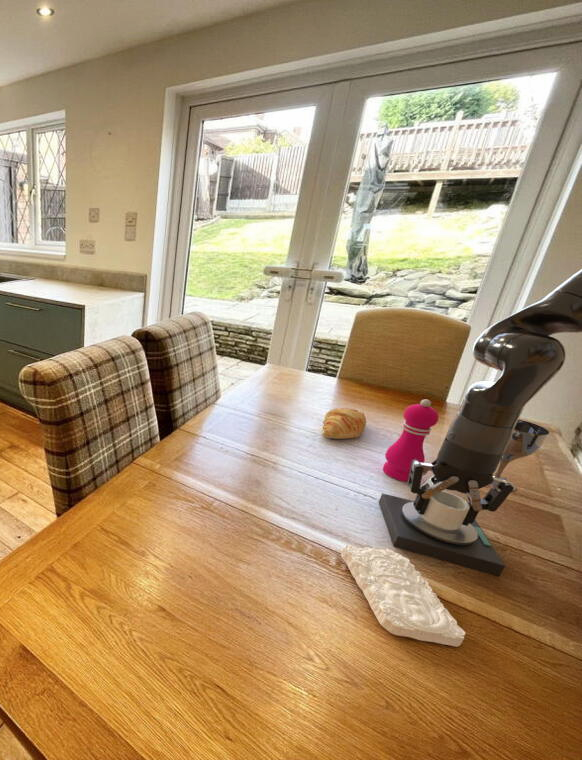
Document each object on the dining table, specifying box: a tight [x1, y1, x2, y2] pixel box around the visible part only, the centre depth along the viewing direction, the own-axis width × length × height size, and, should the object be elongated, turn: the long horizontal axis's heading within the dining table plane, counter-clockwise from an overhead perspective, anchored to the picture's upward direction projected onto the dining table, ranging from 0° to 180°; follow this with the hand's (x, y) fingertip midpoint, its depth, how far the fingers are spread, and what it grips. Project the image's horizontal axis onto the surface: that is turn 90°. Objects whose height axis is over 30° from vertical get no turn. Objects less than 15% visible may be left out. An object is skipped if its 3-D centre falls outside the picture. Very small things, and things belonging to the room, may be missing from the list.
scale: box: [378, 493, 506, 577], centre depth 76 cm, size 15×14×3 cm
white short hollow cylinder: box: [421, 490, 470, 530], centre depth 75 cm, size 6×6×5 cm
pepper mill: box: [382, 399, 440, 483], centre depth 92 cm, size 7×7×20 cm
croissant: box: [321, 407, 367, 440], centre depth 114 cm, size 21×10×8 cm, turn 124°
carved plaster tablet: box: [340, 544, 466, 648], centre depth 64 cm, size 11×16×3 cm
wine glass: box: [487, 418, 550, 492], centre depth 90 cm, size 8×8×15 cm
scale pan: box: [402, 502, 478, 545], centre depth 76 cm, size 11×11×1 cm
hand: (440, 516), depth 75 cm, fingers closed on white short hollow cylinder, 6 cm apart
